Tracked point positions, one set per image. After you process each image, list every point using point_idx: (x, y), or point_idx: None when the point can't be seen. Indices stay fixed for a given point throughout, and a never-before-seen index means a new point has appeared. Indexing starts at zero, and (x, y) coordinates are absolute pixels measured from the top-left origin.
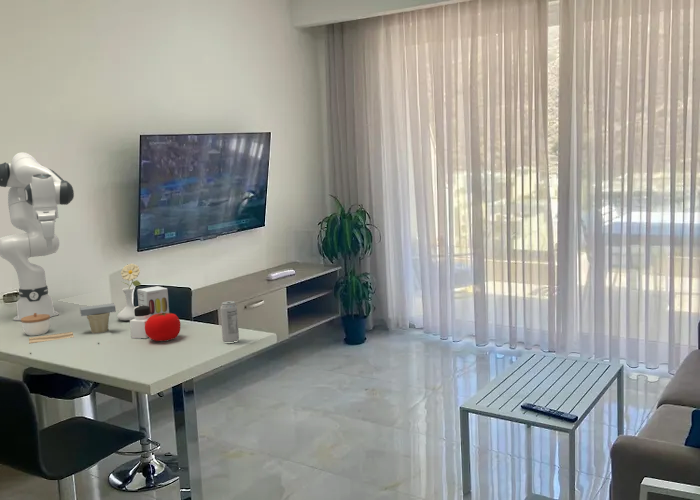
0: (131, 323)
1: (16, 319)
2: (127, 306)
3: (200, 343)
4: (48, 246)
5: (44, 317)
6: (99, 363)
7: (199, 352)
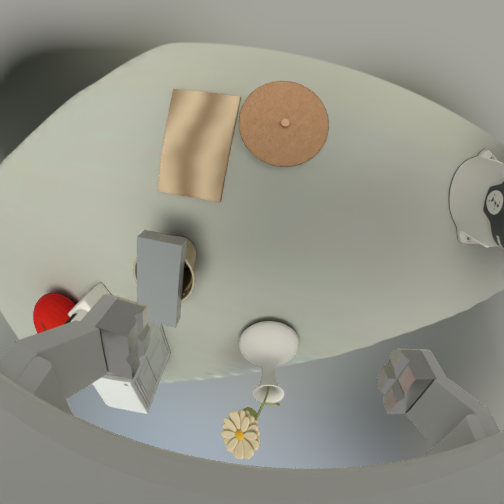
0: (84, 298)
1: (482, 152)
2: (263, 356)
3: None
4: (90, 322)
5: (248, 143)
6: (5, 194)
7: (11, 305)
